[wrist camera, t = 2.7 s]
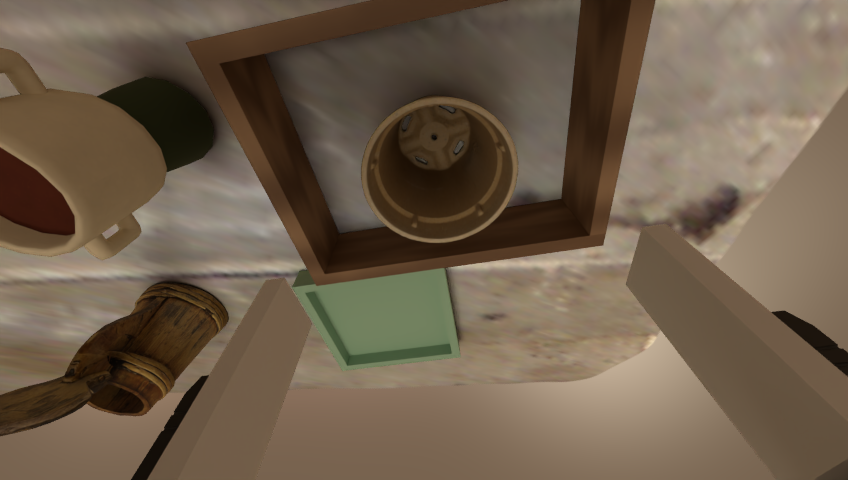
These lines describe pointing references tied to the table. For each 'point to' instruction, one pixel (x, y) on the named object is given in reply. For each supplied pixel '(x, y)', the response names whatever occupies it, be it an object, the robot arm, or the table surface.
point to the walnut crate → (382, 247)
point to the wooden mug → (124, 360)
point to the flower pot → (439, 170)
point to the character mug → (88, 159)
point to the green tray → (383, 318)
